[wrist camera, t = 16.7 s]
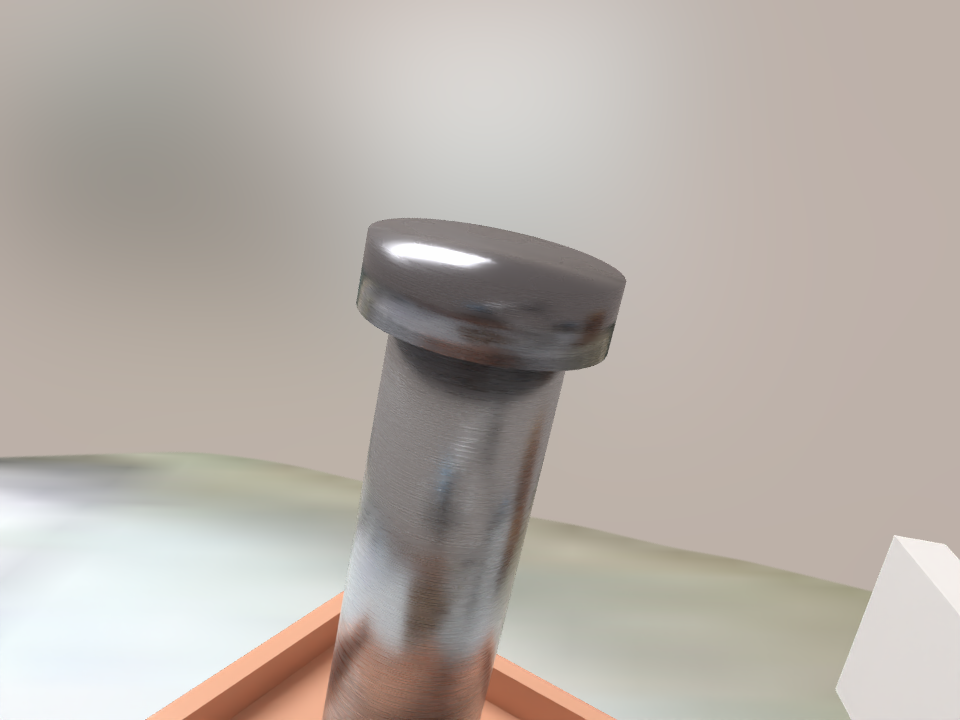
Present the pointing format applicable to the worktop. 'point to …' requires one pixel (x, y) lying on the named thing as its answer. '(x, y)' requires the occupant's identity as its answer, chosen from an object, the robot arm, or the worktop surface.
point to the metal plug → (455, 453)
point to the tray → (305, 675)
